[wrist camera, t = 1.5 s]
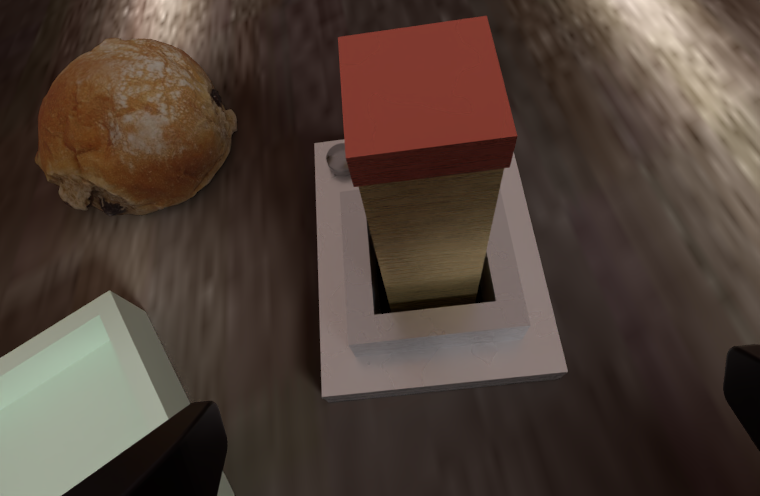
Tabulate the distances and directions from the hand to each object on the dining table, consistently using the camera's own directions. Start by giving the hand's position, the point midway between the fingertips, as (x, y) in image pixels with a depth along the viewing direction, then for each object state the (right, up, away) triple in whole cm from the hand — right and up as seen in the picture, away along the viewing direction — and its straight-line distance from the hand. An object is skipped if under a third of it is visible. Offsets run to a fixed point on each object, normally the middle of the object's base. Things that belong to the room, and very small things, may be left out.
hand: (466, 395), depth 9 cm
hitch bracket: (+1, +2, +15) cm, 16 cm away
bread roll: (-15, +8, +21) cm, 26 cm away
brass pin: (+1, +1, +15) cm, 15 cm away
